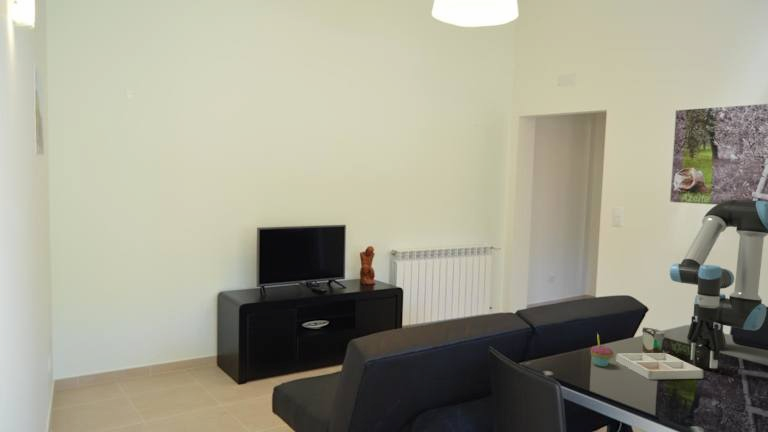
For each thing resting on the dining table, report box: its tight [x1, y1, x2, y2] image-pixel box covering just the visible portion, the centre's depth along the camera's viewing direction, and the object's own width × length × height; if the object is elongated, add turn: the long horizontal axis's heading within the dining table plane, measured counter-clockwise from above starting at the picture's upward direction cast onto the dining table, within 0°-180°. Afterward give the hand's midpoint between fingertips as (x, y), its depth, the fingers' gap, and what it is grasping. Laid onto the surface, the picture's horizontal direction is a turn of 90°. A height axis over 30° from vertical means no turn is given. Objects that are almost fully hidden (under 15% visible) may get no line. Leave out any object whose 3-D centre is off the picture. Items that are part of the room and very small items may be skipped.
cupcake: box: [589, 332, 615, 367], centre depth 225 cm, size 9×8×12 cm
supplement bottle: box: [693, 336, 715, 371], centre depth 225 cm, size 7×7×12 cm
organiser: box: [615, 352, 705, 380], centre depth 221 cm, size 21×21×3 cm
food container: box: [641, 327, 666, 353], centre depth 241 cm, size 12×6×10 cm, turn 179°
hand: (703, 363), depth 226 cm, fingers open, 10 cm apart
